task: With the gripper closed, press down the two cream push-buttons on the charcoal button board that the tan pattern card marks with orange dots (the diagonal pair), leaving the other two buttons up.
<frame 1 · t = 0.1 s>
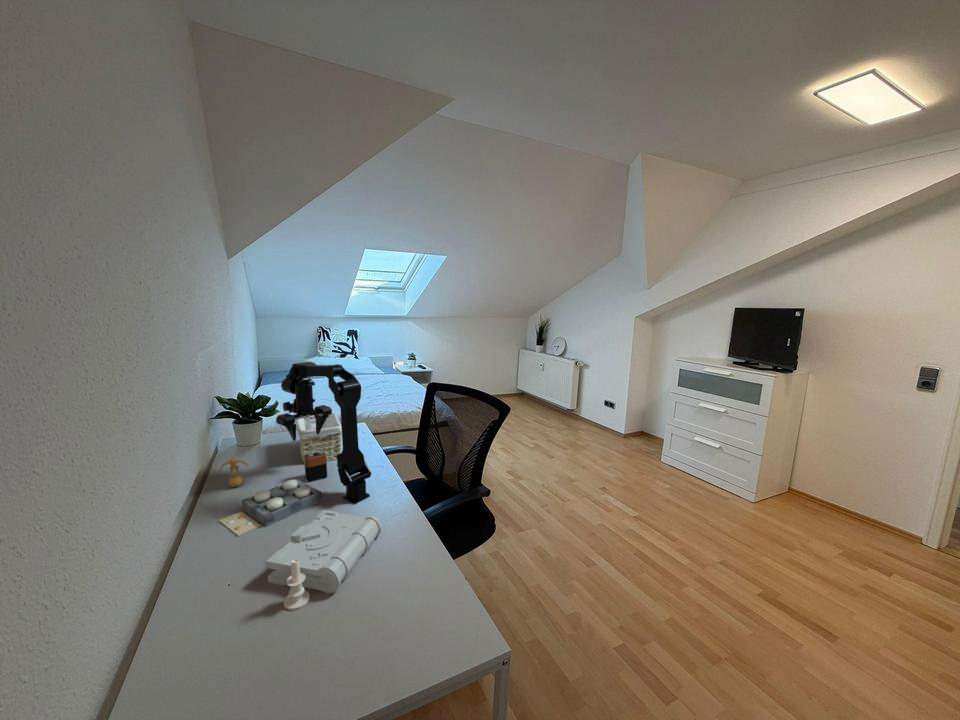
hand: (306, 437, 142), 15 cm above the table, fingers open, 9 cm apart
button a: (302, 492, 124), point 4 cm above the table, slide at 0.0 cm
battery: (316, 478, 141), on the table
candle: (297, 601, 85), on the table
figurine: (235, 488, 133), on the table
button board: (283, 504, 123), on the table
button b: (290, 485, 128), point 4 cm above the table, slide at 0.0 cm
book: (333, 553, 102), on the table
pattern card: (239, 523, 112), on the table
button c: (274, 504, 116), point 4 cm above the table, slide at 0.0 cm
button d: (262, 496, 121), point 4 cm above the table, slide at 0.0 cm
storage basket: (319, 453, 164), on the table
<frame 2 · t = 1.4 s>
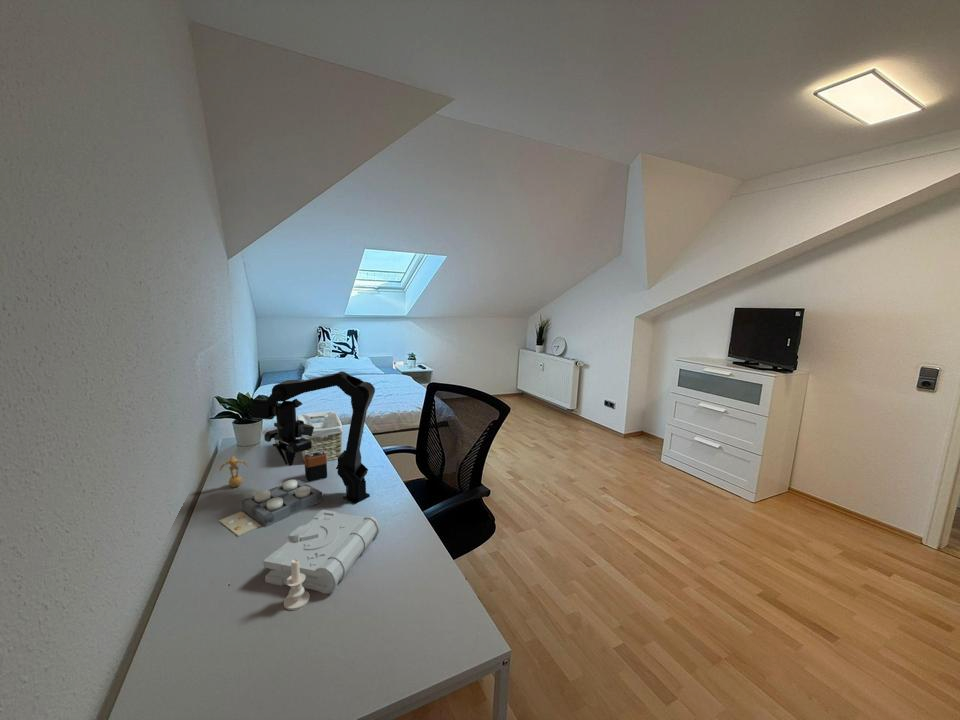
hand: (289, 464, 127), 11 cm above the table, fingers closed
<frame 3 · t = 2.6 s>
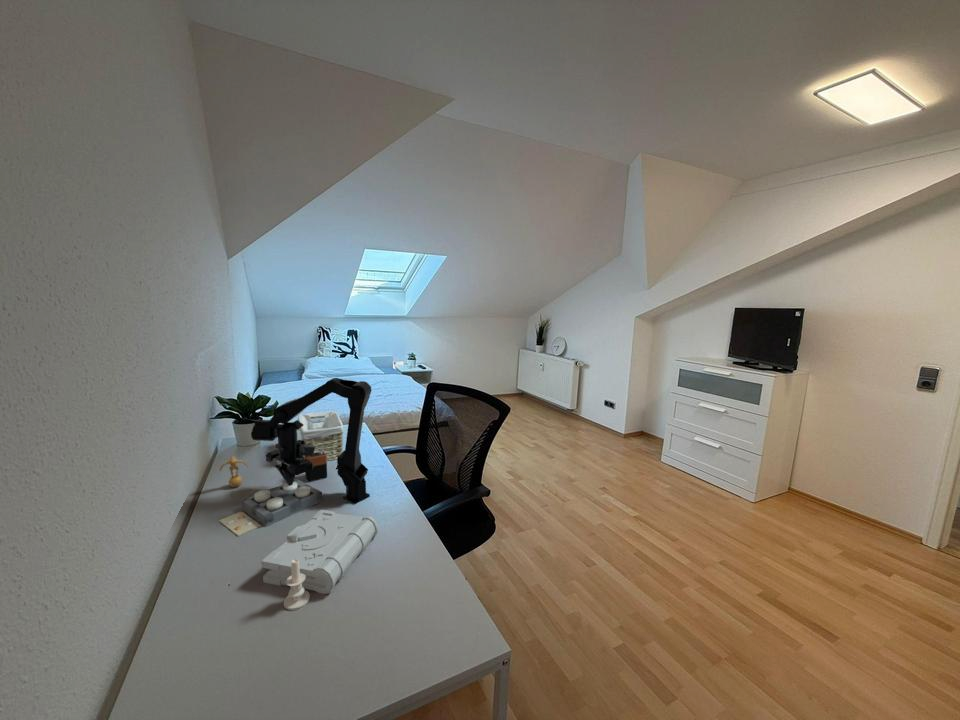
hand: (290, 485, 128), 4 cm above the table, fingers closed, pressing on button b
button b: (290, 487, 128), point 3 cm above the table, slide at 0.8 cm, touching gripper
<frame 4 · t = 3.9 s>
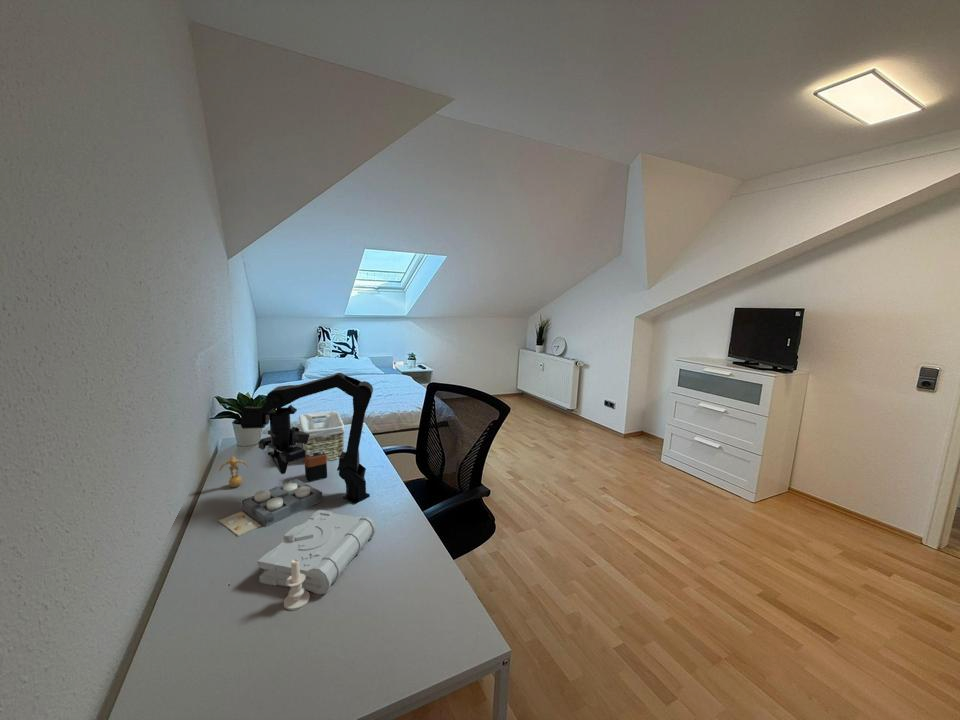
hand: (283, 473, 123), 10 cm above the table, fingers closed
button b: (290, 488, 128), point 2 cm above the table, slide at 1.2 cm
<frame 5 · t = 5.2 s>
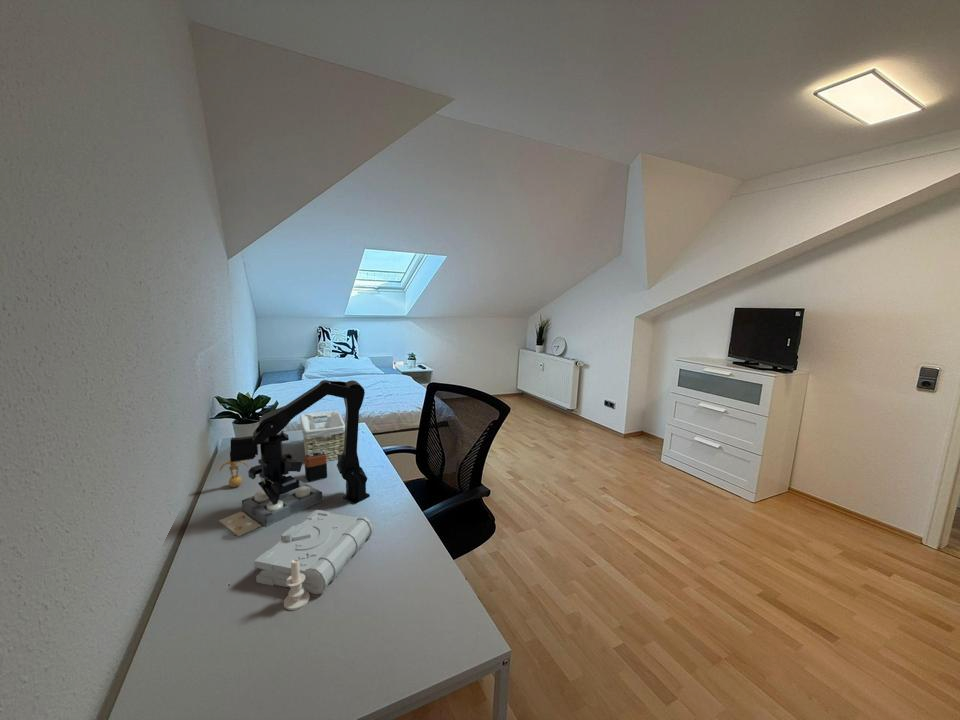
hand: (275, 503, 116), 4 cm above the table, fingers closed, pressing on button c
button c: (275, 507, 117), point 3 cm above the table, slide at 0.9 cm, touching gripper
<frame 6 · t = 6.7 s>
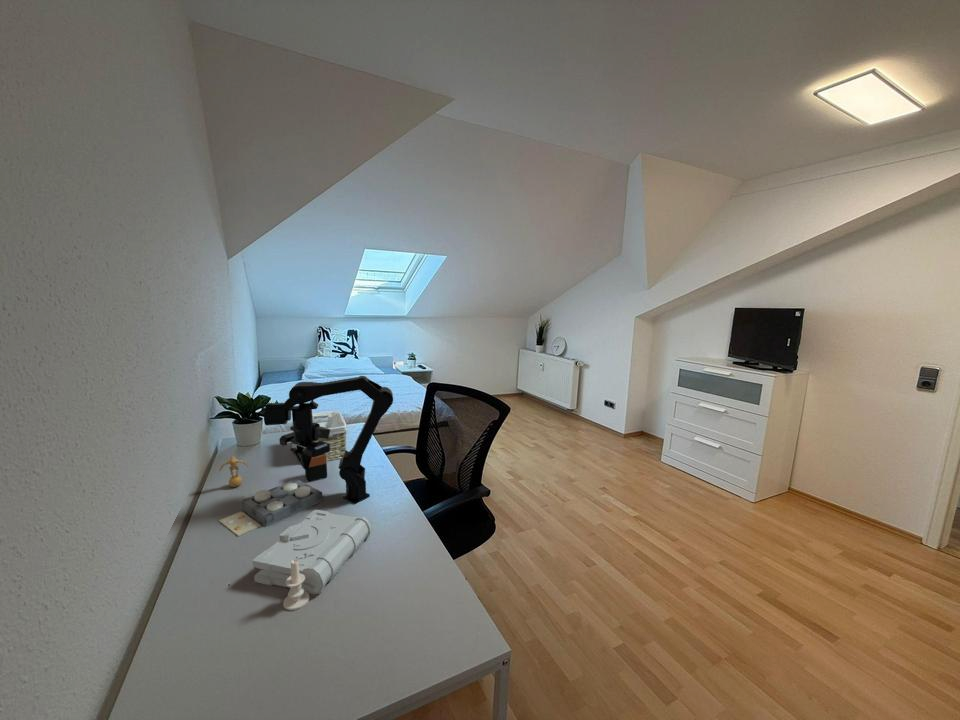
hand: (306, 469, 123), 12 cm above the table, fingers closed
button c: (275, 507, 117), point 2 cm above the table, slide at 1.2 cm
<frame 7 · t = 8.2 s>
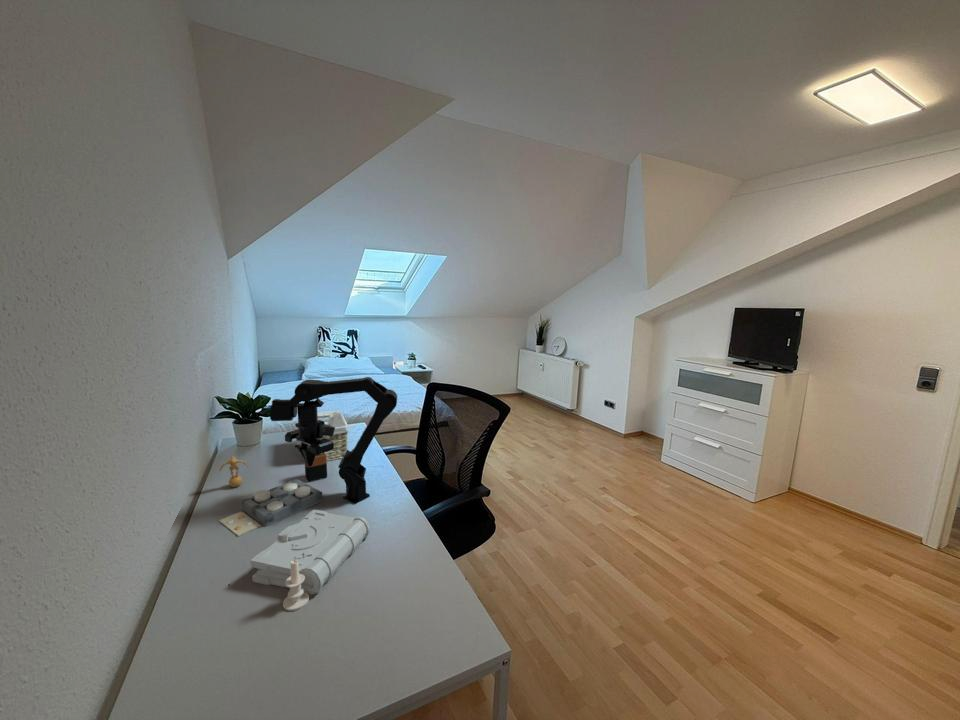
hand: (310, 466, 124), 12 cm above the table, fingers closed
at the end: button b slide at 1.2 cm; button c slide at 1.2 cm; button d slide at 0.0 cm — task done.
